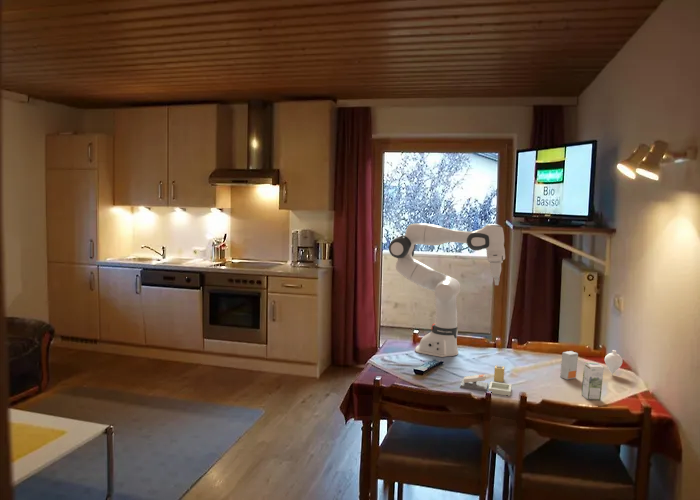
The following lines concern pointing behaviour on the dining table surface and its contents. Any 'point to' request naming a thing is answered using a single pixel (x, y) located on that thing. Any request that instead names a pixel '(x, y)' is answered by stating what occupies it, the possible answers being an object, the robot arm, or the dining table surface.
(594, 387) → the syrup box
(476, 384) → the switch base
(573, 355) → the skincare box
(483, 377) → the rocker
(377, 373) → the dining table surface
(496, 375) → the lockout cap
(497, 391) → the socket
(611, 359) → the spinning top
